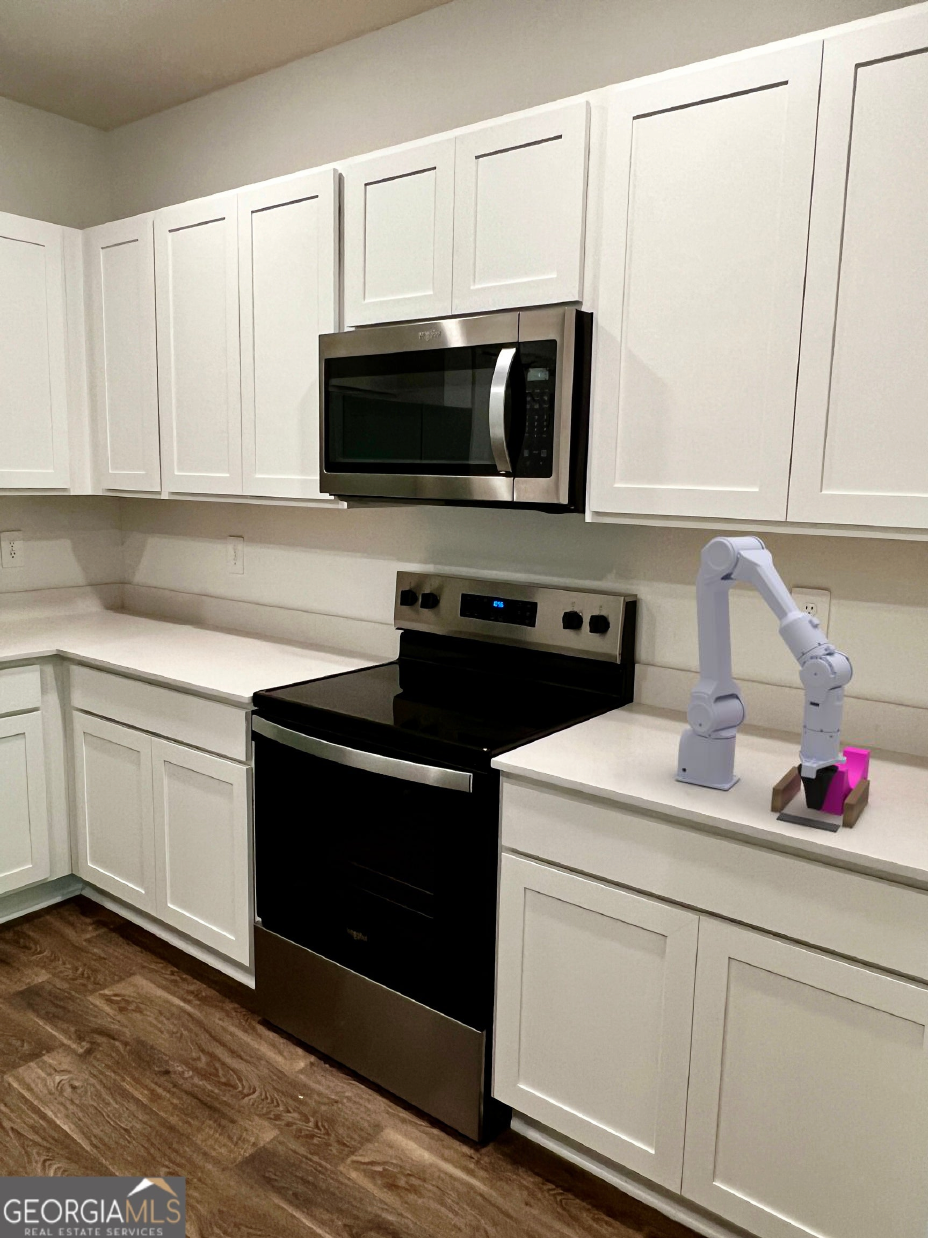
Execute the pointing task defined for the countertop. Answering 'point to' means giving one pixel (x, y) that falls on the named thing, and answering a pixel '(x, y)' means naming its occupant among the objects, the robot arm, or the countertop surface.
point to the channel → (792, 785)
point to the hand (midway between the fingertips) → (814, 808)
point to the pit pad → (808, 822)
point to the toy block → (846, 779)
